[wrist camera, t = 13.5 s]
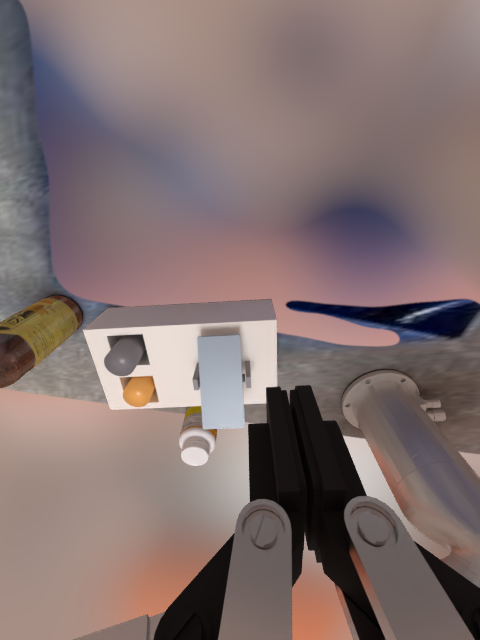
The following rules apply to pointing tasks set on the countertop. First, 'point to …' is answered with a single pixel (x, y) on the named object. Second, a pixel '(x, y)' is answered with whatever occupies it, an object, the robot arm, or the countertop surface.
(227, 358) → the rocker
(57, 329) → the sauce bottle
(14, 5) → the countertop surface
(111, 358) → the button charcoal
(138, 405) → the button orange
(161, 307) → the panel
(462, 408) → the countertop surface
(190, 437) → the supplement bottle
